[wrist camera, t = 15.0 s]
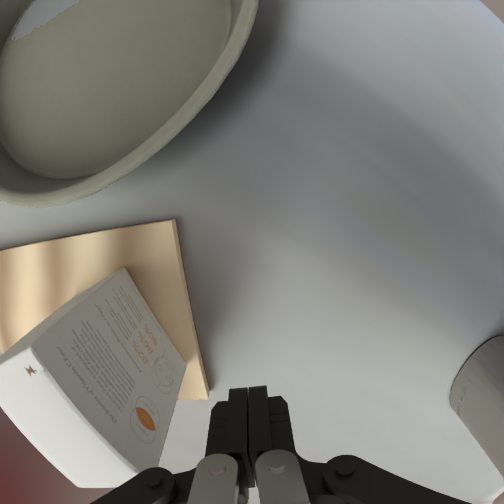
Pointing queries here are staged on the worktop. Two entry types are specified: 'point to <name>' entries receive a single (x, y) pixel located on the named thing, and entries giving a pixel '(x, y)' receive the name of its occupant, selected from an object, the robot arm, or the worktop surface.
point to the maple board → (95, 270)
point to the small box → (95, 385)
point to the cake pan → (106, 88)
